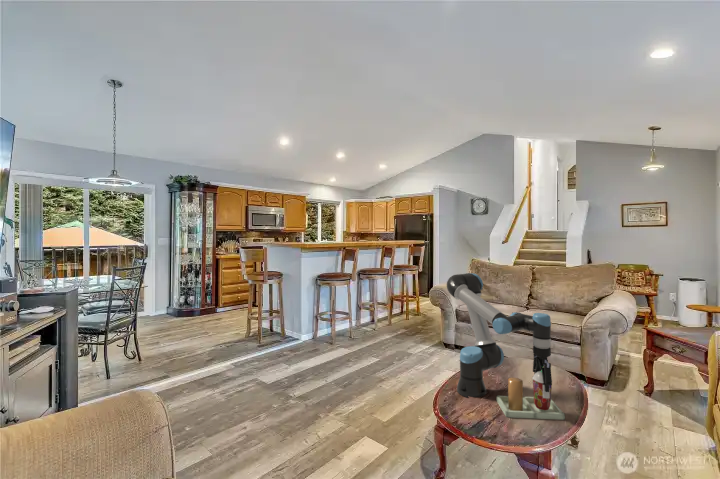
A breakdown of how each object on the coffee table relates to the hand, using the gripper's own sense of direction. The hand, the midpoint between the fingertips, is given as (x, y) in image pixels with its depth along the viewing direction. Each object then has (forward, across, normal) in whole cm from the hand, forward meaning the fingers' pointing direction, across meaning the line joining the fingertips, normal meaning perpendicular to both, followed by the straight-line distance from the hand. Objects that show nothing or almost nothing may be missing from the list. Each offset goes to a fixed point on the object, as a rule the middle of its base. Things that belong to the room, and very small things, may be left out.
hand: (541, 393), depth 161 cm
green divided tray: (+9, 0, +6) cm, 11 cm away
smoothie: (+7, 0, 0) cm, 7 cm away
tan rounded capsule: (+8, 0, +12) cm, 15 cm away
